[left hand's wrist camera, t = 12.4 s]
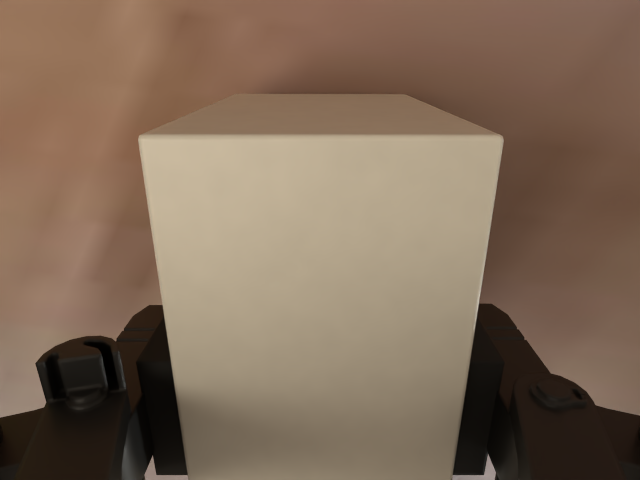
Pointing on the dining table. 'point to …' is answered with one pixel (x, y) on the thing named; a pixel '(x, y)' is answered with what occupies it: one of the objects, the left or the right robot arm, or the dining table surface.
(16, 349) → the dining table surface
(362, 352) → the post
